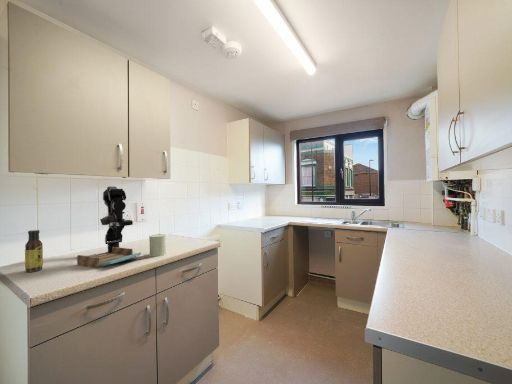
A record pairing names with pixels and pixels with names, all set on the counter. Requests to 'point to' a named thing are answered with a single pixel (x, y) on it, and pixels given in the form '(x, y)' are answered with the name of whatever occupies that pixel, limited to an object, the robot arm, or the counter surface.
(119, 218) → the robot arm
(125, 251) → the flatbed
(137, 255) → the teal flat rectangular block
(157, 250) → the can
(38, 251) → the sauce bottle
